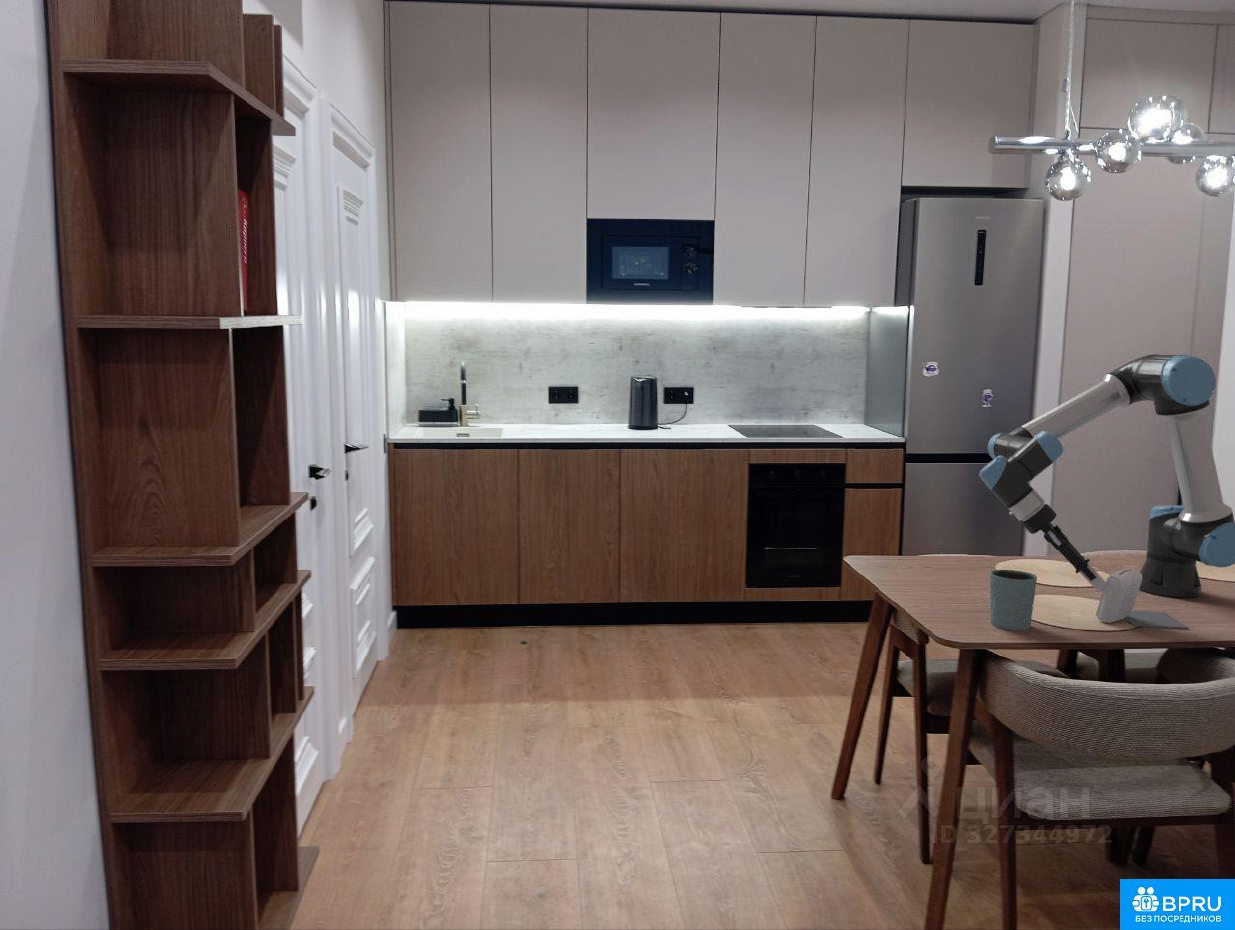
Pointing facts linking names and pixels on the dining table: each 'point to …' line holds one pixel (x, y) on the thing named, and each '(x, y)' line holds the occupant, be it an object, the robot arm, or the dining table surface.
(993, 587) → the teal cup
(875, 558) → the dining table surface
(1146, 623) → the mat
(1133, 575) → the photo printer
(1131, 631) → the dining table surface
